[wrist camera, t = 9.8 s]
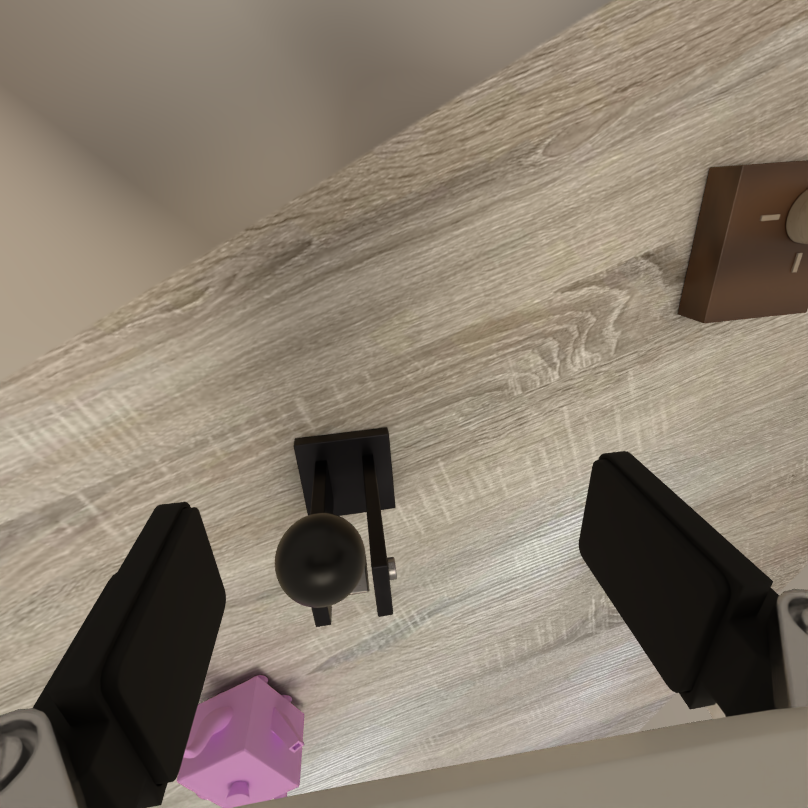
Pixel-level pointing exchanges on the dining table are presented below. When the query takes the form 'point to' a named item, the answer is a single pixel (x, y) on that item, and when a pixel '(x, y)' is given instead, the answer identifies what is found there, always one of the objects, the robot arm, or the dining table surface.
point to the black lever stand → (352, 495)
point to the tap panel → (747, 246)
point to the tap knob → (798, 220)
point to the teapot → (244, 746)
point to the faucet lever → (321, 561)
